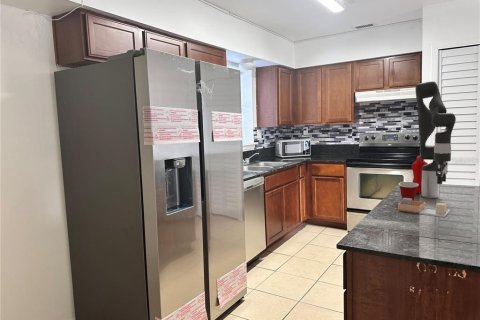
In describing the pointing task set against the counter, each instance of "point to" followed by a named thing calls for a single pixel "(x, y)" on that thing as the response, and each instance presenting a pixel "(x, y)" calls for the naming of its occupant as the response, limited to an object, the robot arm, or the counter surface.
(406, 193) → the plastic cup
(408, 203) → the grey stacked cube
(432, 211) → the tray
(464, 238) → the counter surface
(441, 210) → the beige wooden cube
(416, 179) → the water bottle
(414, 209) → the dish
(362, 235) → the counter surface
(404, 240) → the counter surface
